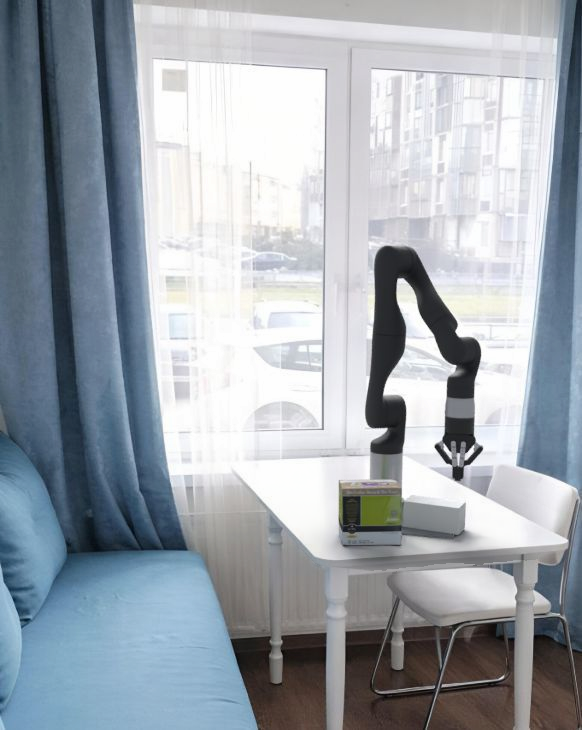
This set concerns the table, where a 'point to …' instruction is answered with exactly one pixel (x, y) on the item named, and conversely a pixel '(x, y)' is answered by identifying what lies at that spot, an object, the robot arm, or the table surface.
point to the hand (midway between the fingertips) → (457, 480)
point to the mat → (425, 533)
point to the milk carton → (433, 514)
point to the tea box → (370, 512)
